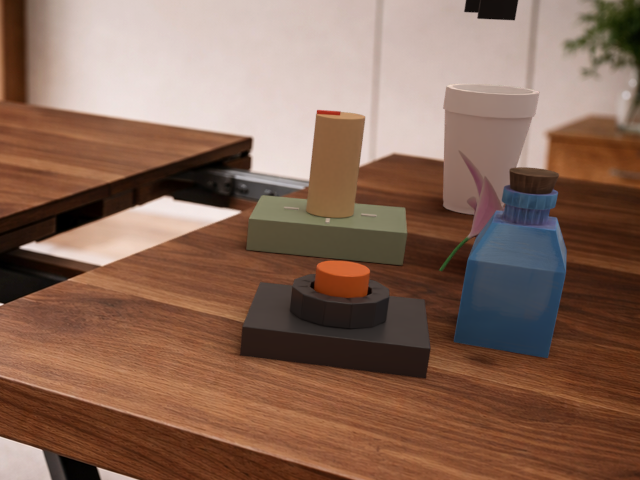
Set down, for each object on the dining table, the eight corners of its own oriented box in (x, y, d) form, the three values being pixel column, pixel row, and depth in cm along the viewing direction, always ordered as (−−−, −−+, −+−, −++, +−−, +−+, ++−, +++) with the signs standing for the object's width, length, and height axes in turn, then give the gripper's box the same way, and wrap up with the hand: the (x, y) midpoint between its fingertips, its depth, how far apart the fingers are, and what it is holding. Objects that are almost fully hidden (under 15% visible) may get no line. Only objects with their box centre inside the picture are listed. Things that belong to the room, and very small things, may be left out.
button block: (420, 327, 70) (428, 275, 69) (425, 380, 61) (435, 321, 60) (257, 309, 73) (262, 258, 71) (239, 357, 64) (244, 300, 62)
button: (367, 287, 67) (370, 263, 66) (366, 303, 63) (370, 278, 63) (315, 281, 68) (318, 257, 67) (312, 297, 64) (314, 272, 64)
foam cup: (530, 220, 102) (553, 96, 97) (443, 217, 102) (463, 93, 97) (498, 199, 111) (519, 85, 106) (419, 197, 111) (436, 82, 106)
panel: (400, 237, 94) (405, 205, 93) (402, 265, 85) (407, 231, 84) (259, 224, 97) (261, 193, 96) (246, 250, 88) (248, 216, 87)
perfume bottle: (453, 343, 67) (482, 174, 63) (462, 316, 73) (489, 159, 68) (547, 359, 65) (584, 186, 61) (549, 331, 70) (583, 169, 66)
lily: (519, 316, 76) (592, 212, 74) (391, 239, 79) (458, 138, 77) (510, 315, 88) (573, 225, 86) (398, 248, 91) (457, 160, 89)
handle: (354, 209, 91) (366, 110, 88) (352, 219, 87) (365, 116, 84) (307, 205, 92) (318, 107, 89) (304, 215, 88) (314, 113, 85)
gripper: (470, -246, 84) (433, 8, 92) (501, -325, 62) (449, 20, 69) (560, -247, 83) (515, 12, 90) (627, -329, 60) (559, 25, 68)
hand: (487, 16), depth 80 cm, fingers open, 13 cm apart
